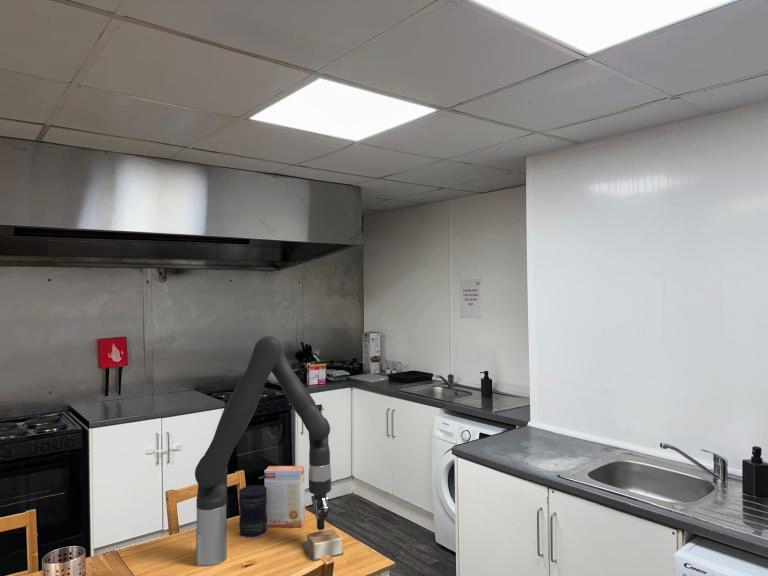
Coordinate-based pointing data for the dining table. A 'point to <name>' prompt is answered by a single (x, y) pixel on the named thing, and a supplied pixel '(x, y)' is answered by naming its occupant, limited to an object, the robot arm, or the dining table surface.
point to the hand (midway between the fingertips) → (320, 529)
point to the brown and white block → (324, 543)
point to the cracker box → (285, 496)
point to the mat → (311, 554)
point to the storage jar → (253, 511)
